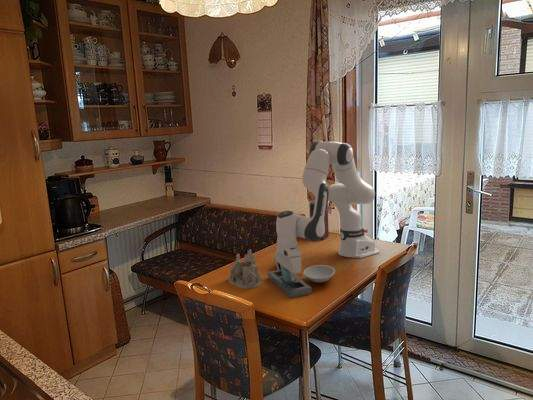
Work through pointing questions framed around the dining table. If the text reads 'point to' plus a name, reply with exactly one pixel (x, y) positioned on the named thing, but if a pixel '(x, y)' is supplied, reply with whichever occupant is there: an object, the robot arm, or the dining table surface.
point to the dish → (319, 273)
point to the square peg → (286, 275)
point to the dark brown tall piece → (325, 220)
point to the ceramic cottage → (245, 272)
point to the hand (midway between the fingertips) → (288, 276)
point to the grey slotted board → (290, 285)
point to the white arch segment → (277, 264)
